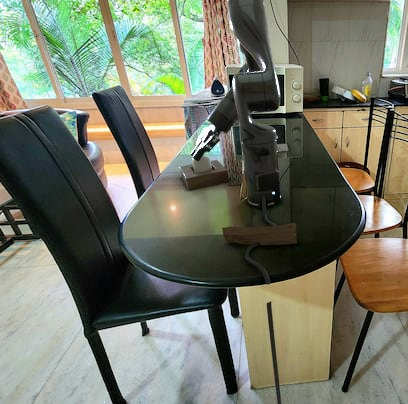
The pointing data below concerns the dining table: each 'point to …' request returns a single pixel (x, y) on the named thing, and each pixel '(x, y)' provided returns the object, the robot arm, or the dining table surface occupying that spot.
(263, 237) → the wood plank
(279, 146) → the platform
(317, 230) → the dining table surface
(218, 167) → the stand
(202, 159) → the eye dropper bottle
